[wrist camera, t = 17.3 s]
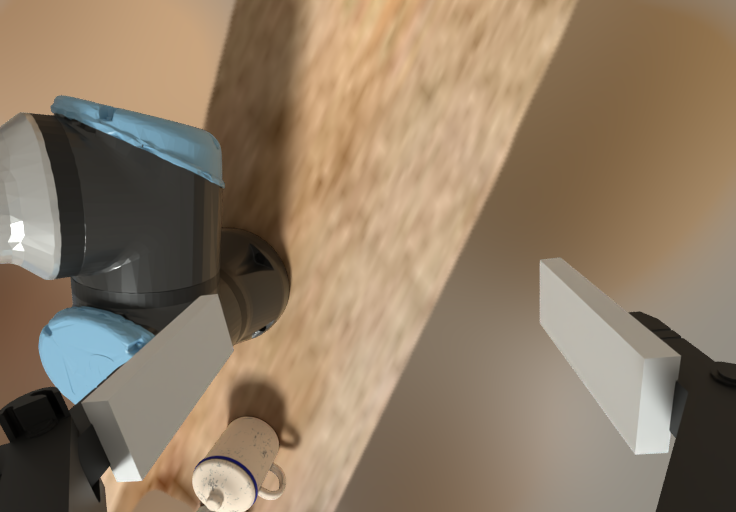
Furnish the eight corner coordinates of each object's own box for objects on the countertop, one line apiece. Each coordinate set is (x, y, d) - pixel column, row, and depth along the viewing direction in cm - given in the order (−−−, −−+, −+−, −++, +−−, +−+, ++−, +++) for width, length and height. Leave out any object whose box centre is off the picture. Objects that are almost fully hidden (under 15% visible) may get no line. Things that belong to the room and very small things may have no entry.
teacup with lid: (218, 445, 61) (170, 512, 50) (236, 403, 58) (190, 464, 47) (285, 481, 61) (252, 556, 50) (307, 441, 58) (277, 510, 47)
